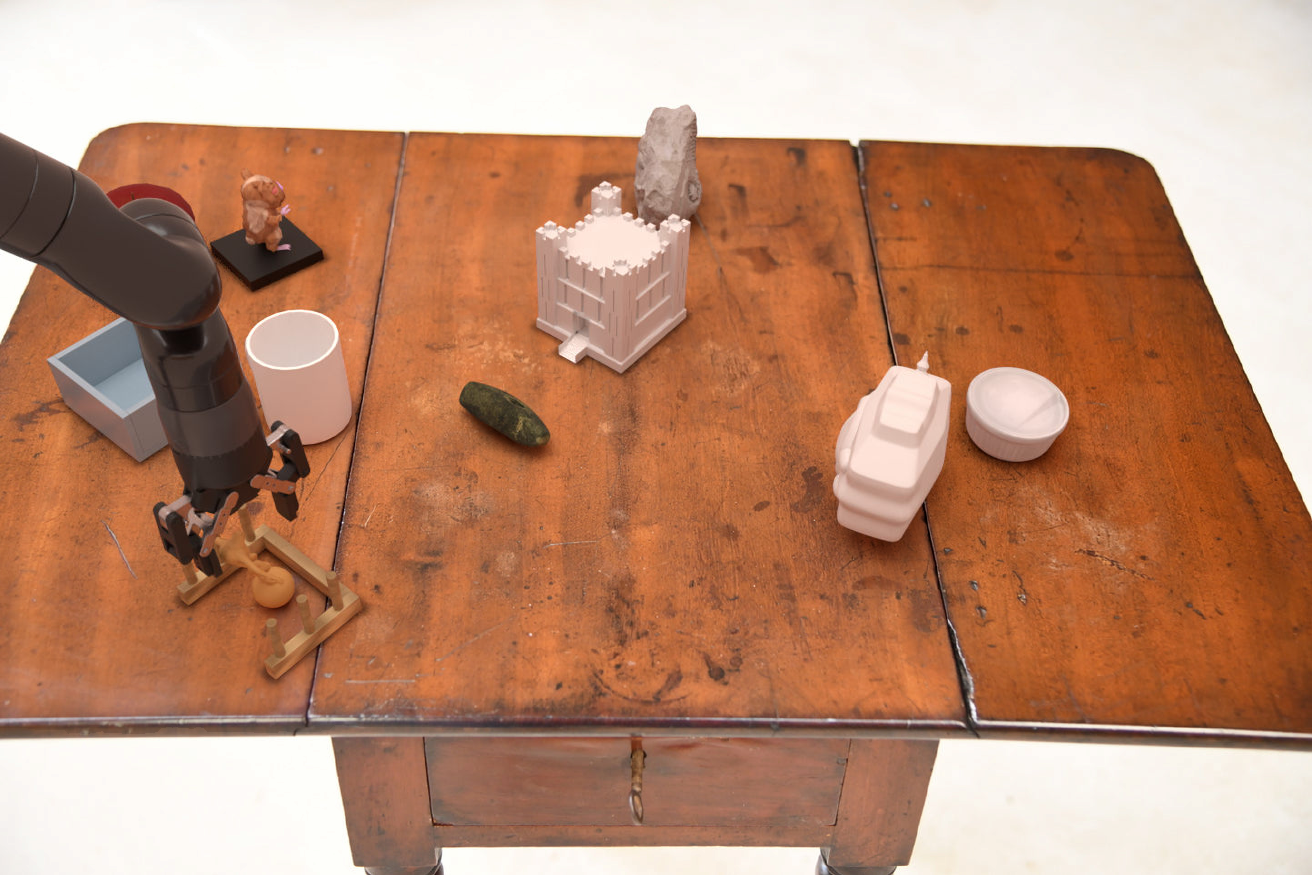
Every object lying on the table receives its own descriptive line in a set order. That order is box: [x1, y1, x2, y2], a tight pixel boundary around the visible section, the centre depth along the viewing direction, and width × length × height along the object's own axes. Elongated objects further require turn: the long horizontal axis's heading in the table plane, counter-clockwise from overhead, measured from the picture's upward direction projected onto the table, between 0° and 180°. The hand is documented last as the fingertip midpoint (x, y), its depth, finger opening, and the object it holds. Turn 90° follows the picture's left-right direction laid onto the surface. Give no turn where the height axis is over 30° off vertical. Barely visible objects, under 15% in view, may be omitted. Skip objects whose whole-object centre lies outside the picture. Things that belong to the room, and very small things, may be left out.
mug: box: [244, 309, 353, 446], centre depth 137 cm, size 10×12×12 cm
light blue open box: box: [46, 316, 169, 463], centre depth 139 cm, size 14×14×7 cm
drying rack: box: [175, 503, 363, 680], centre depth 121 cm, size 11×14×7 cm
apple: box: [105, 182, 196, 223], centre depth 151 cm, size 12×12×13 cm
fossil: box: [633, 103, 703, 231], centre depth 165 cm, size 16×9×15 cm, turn 172°
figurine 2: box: [215, 530, 296, 609], centre depth 119 cm, size 8×6×12 cm
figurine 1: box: [209, 167, 325, 292], centre depth 156 cm, size 10×10×12 cm
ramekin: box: [965, 366, 1070, 463], centre depth 141 cm, size 11×11×5 cm
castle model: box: [535, 180, 692, 374], centre depth 148 cm, size 13×15×14 cm
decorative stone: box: [458, 380, 551, 448], centre depth 139 cm, size 11×8×5 cm
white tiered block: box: [832, 350, 952, 543], centre depth 130 cm, size 11×18×16 cm, turn 158°
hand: (250, 543), depth 116 cm, fingers open, 8 cm apart
